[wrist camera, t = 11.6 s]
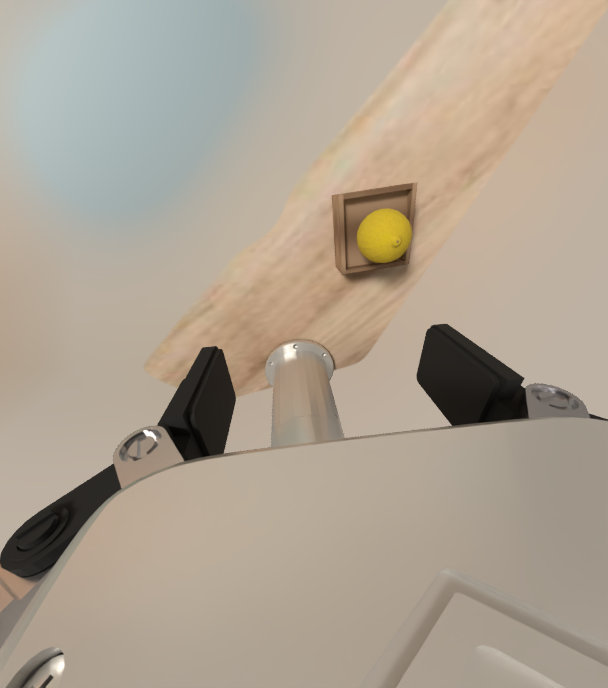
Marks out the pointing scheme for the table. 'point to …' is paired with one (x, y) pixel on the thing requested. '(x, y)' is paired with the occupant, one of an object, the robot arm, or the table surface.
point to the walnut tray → (352, 213)
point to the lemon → (384, 235)
